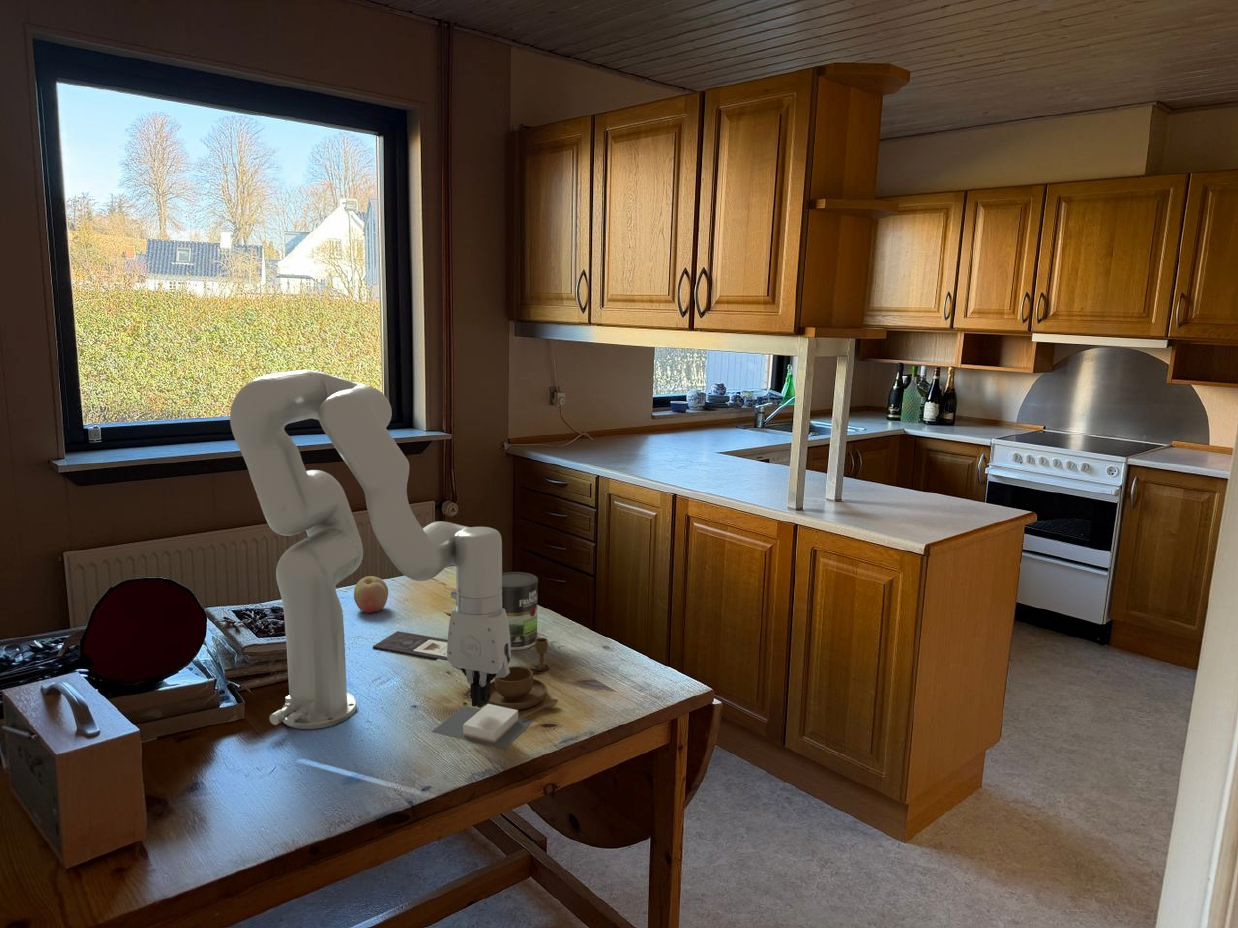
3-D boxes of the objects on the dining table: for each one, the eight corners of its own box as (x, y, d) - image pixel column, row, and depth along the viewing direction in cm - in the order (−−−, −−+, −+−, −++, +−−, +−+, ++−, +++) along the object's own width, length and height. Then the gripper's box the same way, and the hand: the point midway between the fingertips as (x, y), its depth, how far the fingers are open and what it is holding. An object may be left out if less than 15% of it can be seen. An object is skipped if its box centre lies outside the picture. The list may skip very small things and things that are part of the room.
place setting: (459, 694, 154) (457, 664, 153) (540, 663, 168) (540, 635, 167) (518, 724, 142) (517, 692, 141) (601, 688, 156) (601, 658, 155)
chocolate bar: (397, 631, 182) (469, 643, 176) (397, 635, 182) (469, 647, 176) (372, 646, 173) (447, 659, 167) (372, 650, 173) (447, 664, 168)
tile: (463, 735, 138) (494, 742, 136) (463, 724, 138) (494, 731, 136) (487, 714, 146) (518, 720, 143) (487, 703, 145) (518, 710, 143)
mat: (505, 752, 134) (504, 748, 134) (432, 734, 139) (431, 731, 139) (533, 724, 144) (533, 721, 144) (463, 708, 149) (463, 705, 149)
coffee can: (547, 638, 181) (547, 576, 178) (519, 654, 172) (519, 590, 169) (509, 628, 186) (508, 568, 183) (480, 644, 177) (479, 581, 174)
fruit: (349, 616, 191) (347, 583, 189) (360, 604, 199) (359, 572, 197) (383, 617, 191) (382, 584, 189) (393, 605, 198) (392, 573, 197)
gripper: (428, 602, 137) (430, 704, 140) (507, 616, 131) (508, 722, 135) (453, 588, 143) (455, 686, 147) (529, 600, 138) (529, 702, 142)
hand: (480, 703), depth 141 cm, fingers closed
